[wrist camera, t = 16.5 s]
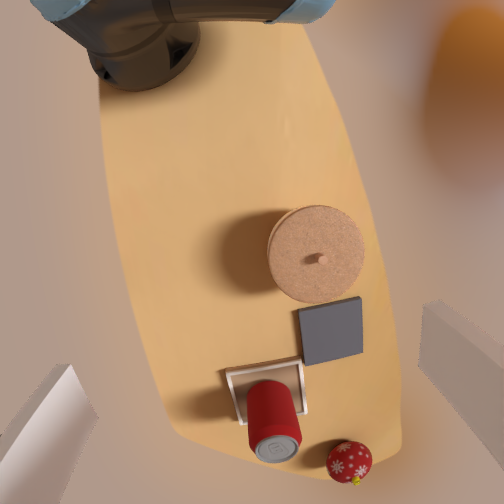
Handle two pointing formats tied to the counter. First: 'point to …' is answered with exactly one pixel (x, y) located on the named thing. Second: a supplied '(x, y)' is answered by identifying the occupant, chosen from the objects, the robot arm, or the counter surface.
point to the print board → (275, 370)
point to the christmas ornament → (349, 462)
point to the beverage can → (272, 422)
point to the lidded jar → (315, 253)
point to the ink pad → (331, 330)
